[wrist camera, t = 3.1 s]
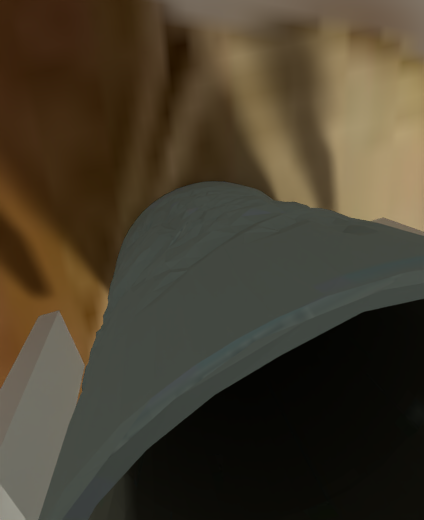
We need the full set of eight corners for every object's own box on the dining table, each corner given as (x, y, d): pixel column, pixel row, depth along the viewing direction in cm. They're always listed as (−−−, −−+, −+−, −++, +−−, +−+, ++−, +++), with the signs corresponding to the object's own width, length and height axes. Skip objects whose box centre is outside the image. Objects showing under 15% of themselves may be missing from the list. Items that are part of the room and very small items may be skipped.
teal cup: (79, 178, 13) (-188, 405, 2) (314, 147, 15) (817, 196, 4) (129, 378, 17) (117, 816, 6) (312, 337, 19) (560, 630, 8)
